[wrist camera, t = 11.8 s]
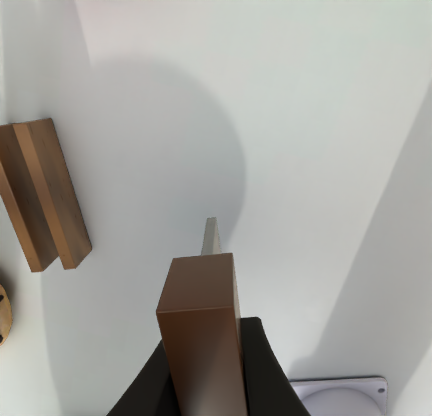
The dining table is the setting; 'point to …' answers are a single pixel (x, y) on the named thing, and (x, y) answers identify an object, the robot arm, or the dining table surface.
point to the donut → (4, 315)
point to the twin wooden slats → (41, 196)
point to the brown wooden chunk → (204, 332)
